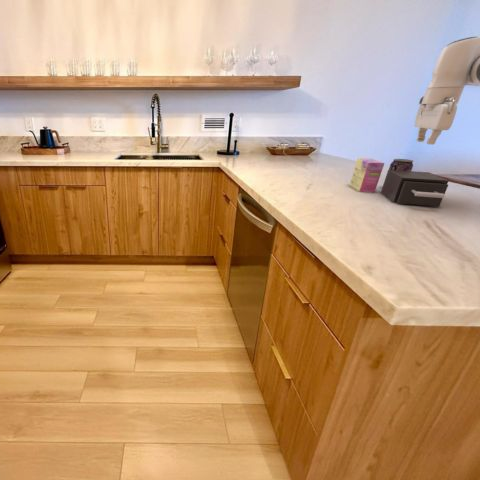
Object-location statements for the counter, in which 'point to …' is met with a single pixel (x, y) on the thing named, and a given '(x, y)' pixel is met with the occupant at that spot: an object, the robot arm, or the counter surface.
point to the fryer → (397, 177)
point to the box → (366, 174)
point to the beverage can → (401, 165)
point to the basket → (422, 193)
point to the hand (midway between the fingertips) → (424, 142)
